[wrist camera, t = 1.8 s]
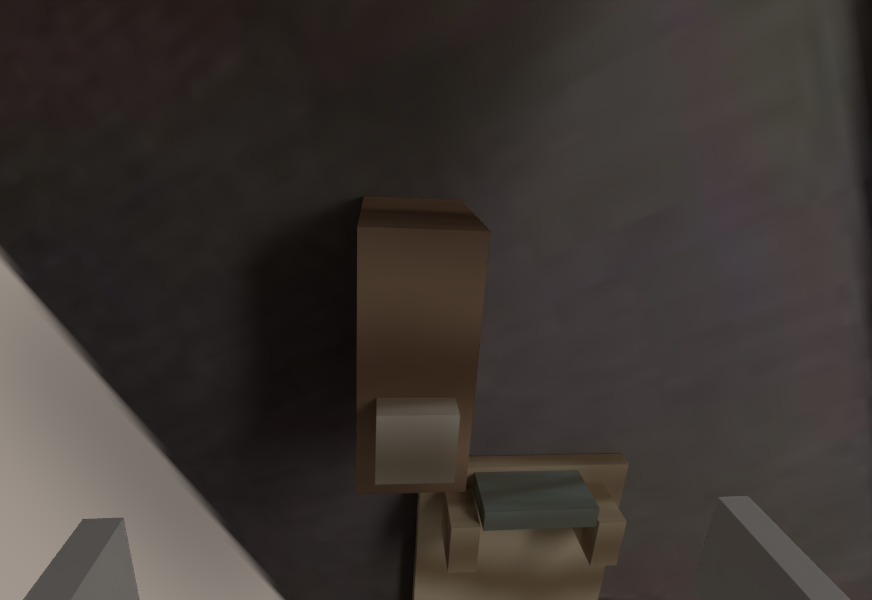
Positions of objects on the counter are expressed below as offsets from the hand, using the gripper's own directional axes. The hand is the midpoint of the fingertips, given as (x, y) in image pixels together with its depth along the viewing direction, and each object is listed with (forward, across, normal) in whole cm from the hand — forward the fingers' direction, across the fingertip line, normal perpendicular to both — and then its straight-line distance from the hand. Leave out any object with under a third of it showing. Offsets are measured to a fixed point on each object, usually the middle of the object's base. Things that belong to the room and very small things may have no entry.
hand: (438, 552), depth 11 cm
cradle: (+15, +7, -17) cm, 23 cm away
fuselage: (+15, 0, 0) cm, 15 cm away
